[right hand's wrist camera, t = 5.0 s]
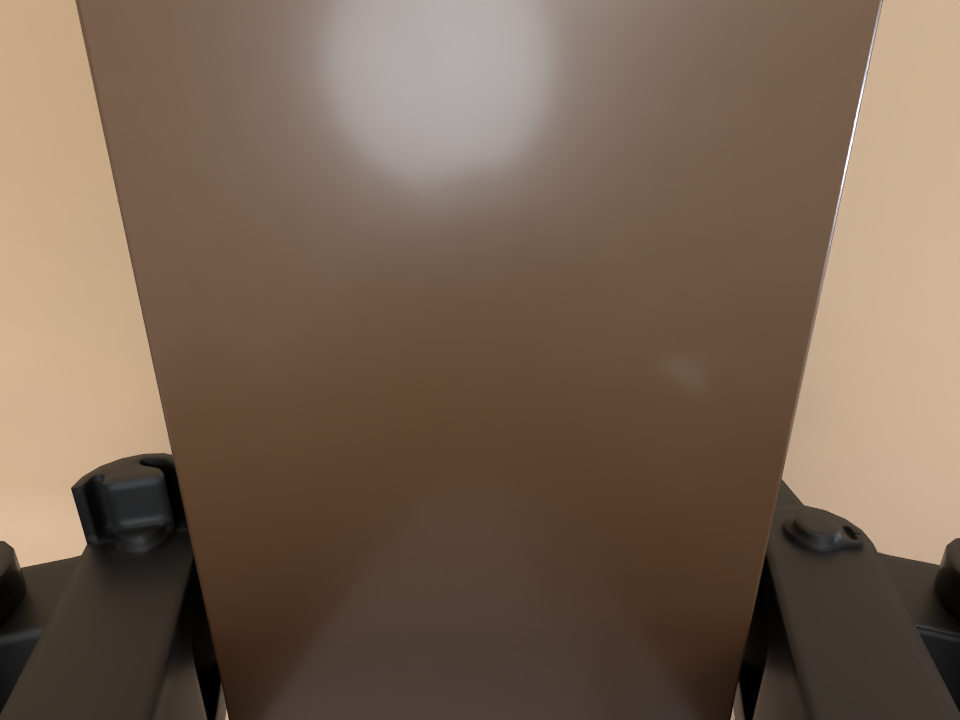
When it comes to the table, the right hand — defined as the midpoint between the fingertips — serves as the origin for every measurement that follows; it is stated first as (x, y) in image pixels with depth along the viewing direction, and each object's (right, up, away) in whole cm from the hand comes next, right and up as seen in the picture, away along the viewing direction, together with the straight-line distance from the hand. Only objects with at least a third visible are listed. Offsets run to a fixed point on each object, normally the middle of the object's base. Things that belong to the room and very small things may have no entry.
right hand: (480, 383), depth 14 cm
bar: (0, +12, -4) cm, 12 cm away
